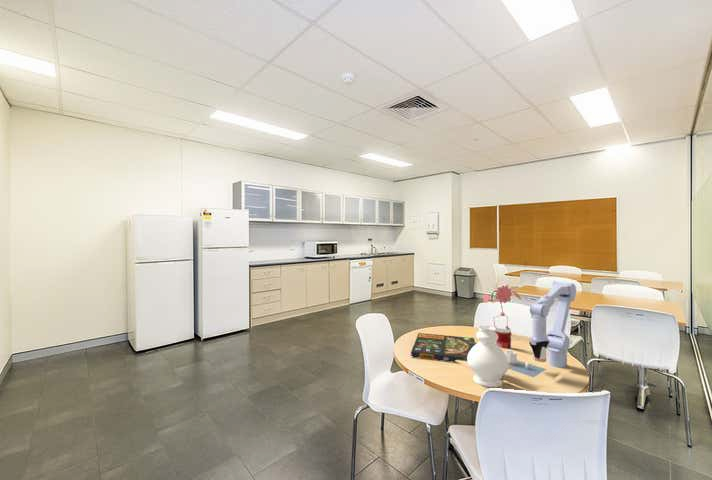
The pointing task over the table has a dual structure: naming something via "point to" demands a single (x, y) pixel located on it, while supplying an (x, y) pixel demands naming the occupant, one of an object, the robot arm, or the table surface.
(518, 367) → the pin board
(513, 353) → the seated sleeve
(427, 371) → the table surface
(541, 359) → the sleeve
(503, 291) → the potted flower
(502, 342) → the canned food
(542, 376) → the table surface
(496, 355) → the decorative vase
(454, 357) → the pizza box
